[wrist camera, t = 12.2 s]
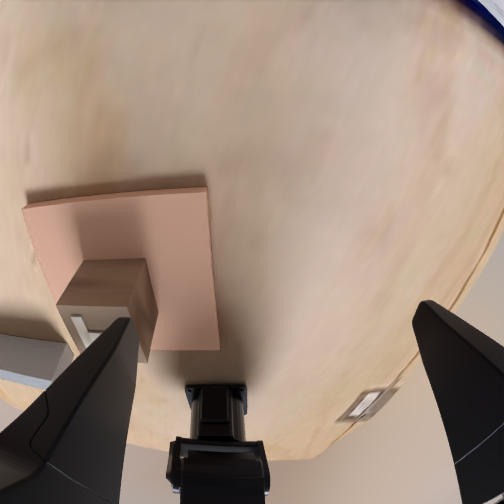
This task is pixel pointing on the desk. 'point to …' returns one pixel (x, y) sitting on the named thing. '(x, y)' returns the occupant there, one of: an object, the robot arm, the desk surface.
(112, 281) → the walnut cube
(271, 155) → the desk surface
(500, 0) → the ink cartridge box
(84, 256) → the mat
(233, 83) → the desk surface
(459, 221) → the desk surface
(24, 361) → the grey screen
